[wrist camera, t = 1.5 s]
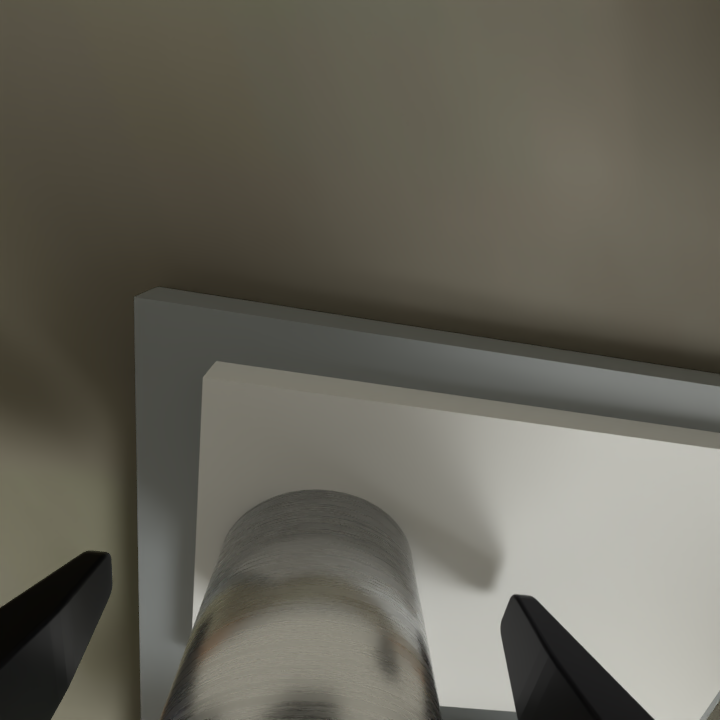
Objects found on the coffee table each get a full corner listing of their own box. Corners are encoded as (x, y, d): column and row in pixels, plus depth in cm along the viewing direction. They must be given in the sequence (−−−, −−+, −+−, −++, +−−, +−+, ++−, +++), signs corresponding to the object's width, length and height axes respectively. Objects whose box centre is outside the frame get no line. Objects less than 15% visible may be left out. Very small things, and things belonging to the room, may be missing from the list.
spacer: (431, 502, 8) (500, 747, 5) (392, 643, 10) (421, 921, 6) (225, 477, 8) (119, 719, 4) (215, 627, 9) (127, 912, 6)
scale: (862, 396, 10) (1409, 601, 5) (621, 777, 15) (761, 1071, 10) (157, 286, 8) (-124, 410, 3) (156, 746, 14) (42, 1070, 9)
